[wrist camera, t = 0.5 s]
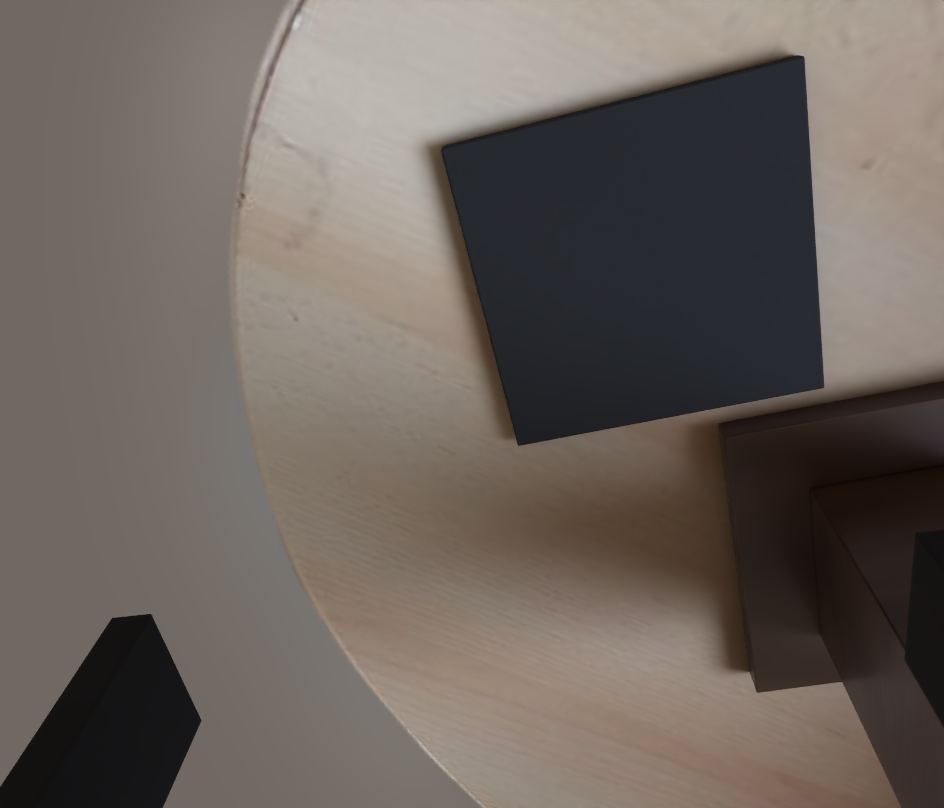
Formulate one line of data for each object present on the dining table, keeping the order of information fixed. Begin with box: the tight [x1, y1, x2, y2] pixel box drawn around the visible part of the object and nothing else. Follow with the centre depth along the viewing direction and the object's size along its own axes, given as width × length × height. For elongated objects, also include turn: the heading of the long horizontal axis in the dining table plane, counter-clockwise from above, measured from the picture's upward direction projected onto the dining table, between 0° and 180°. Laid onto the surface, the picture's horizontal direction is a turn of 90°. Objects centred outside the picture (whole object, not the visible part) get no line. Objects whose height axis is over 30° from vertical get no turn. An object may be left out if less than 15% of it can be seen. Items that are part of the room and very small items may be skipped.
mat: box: [441, 55, 824, 446], centre depth 29 cm, size 12×12×1 cm
